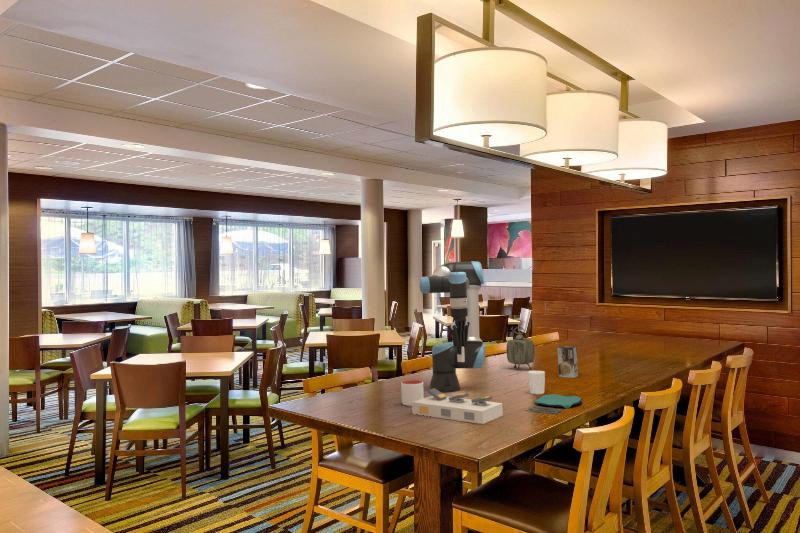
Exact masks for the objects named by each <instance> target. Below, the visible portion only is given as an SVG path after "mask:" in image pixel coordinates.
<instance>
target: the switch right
mask: <svg viewBox="0 0 800 533" xmlns="http://www.w3.org/2000/svg"><path fill="white" fill-rule="evenodd" d="M490 400H493V396H492V395H488V396H487V395H486V396H481V397H475V398H473V399H471V401H472V403H477V402H485V401H488V402H490Z"/></svg>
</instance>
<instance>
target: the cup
mask: <svg viewBox="0 0 800 533" xmlns="http://www.w3.org/2000/svg"><path fill="white" fill-rule="evenodd" d="M400 384H401V385H400V386H401V388H400V390H401V391H400V392H401V403H402V404H403V405H404V406H405V405H406V407H412V402H414V401H417V400H420V399H423V398H425V396H424V395H425V394H424V381H423V380H415V379H414V380H412V379H411V380H409V379H408V380H403V381H401V383H400Z"/></svg>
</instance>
